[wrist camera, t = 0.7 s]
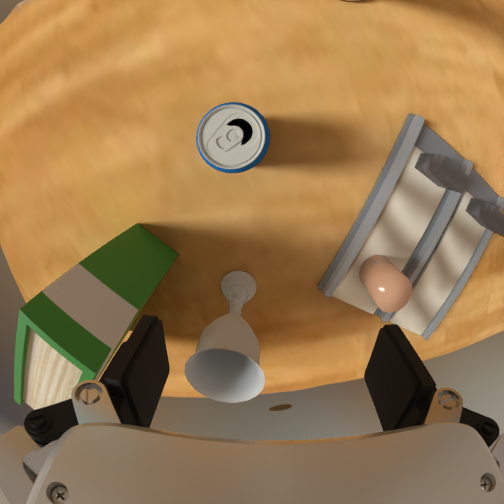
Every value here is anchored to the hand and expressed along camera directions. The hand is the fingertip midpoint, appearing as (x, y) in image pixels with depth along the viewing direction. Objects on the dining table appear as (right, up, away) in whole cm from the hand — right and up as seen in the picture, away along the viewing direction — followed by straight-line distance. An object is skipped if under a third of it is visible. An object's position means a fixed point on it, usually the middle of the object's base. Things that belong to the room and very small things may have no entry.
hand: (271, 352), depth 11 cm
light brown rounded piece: (+16, +1, +26) cm, 31 cm away
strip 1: (+19, +7, +25) cm, 32 cm away
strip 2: (+30, +2, +26) cm, 40 cm away
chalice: (-3, -1, +29) cm, 29 cm away
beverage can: (-2, +18, +22) cm, 29 cm away
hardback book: (-19, 0, +29) cm, 35 cm away
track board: (+25, +6, +25) cm, 36 cm away
